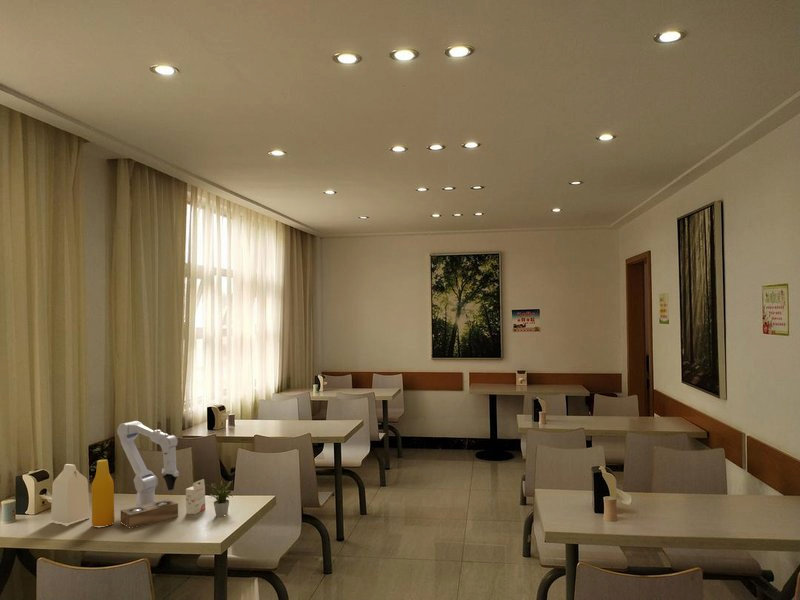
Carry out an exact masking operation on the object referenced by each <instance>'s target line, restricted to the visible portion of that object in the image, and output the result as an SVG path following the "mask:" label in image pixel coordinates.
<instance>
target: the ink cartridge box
mask: <svg viewBox="0 0 800 600" xmlns="http://www.w3.org/2000/svg"><path fill="white" fill-rule="evenodd" d="M185 505H186V506H185V507H186V511H185V513H186V515H187V514H188V515H196V514H198V513H200V512H202V511H204V510H206V484H205V479H204V478H202V479H200V480H197V481H195V482H193V483H192V486H190V487H187V488H185Z"/></svg>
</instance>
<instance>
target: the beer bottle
mask: <svg viewBox="0 0 800 600" xmlns="http://www.w3.org/2000/svg"><path fill="white" fill-rule="evenodd" d="M96 462H97V463H96V470H95V471H96V472H95V476H94V478H93V480H92V483H91V526H92V525H93V526H106V525H110V524H112V523H115V489H114V488H115V484H114V479H113V478H112V476H111V474H110V469H109V461H108V459H99V460H97V461H96ZM93 526H92V527H93Z"/></svg>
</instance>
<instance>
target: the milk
mask: <svg viewBox="0 0 800 600" xmlns="http://www.w3.org/2000/svg"><path fill="white" fill-rule="evenodd" d="M51 489H52V490H51V510H50V521H51V520H54V521H58V522H62V523H70V522H73V521H76V520H79V519H82V518H86V517H89V516H90V517H91V508H90V496H89V495H90V494H89V481H88V478H87V477H86V476H85V475H83V474H82V473H80V471H78V469H77V467H76V464H71V463H70V464H69V463H66V464H64V466H63V470H61V472H60V473H59V474H58V475H57V477H55V479H54V480H53V482H52V488H51Z"/></svg>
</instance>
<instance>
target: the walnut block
mask: <svg viewBox="0 0 800 600" xmlns="http://www.w3.org/2000/svg"><path fill="white" fill-rule="evenodd" d="M159 503H167V504H165V505H161V506H159V505H158V504H159ZM134 509H141V510H140V511H136V512H132V510H134ZM177 516H178V517H179V503H178V502H175V501H173V500H170V499H168V498H167V499H163V500H159V501H155V502H153V503H149V504H145V505H141V506H132V507H129V508H125V509H120V523H121V522H122V523H123V524H125V525H127V526H128V527H130V528H131V529H133V528H132V527H135V528H137V527H136V526H139V527H142V526H141V525H143V526H146V525H145V524H147V525H150V524H149V523H151V524H154V523H158V522H161V520H162V521H166V520H170V519H173V517H174V518H176V517H177ZM169 518H170V519H169ZM165 519H166V520H165ZM157 521H158V522H157ZM153 522H154V523H153ZM128 527H127V528H128ZM130 528H129V529H130Z"/></svg>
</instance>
